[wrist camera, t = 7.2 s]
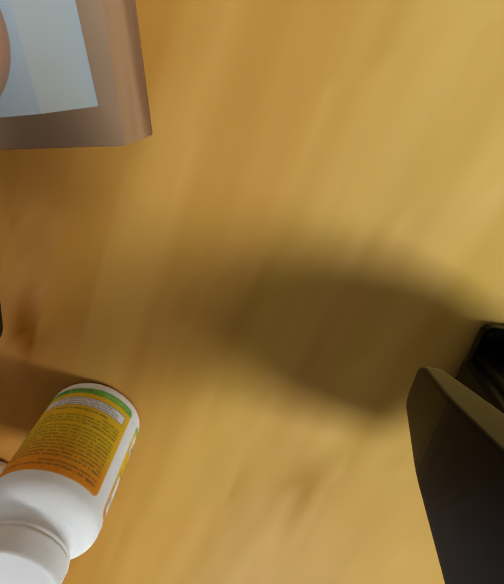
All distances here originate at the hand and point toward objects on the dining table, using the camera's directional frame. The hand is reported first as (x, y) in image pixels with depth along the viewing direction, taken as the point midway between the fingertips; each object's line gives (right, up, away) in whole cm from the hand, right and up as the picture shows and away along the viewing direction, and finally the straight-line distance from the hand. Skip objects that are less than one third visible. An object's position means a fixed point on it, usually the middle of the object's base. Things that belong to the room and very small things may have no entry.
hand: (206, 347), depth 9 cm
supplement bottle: (-8, -6, +17) cm, 20 cm away
